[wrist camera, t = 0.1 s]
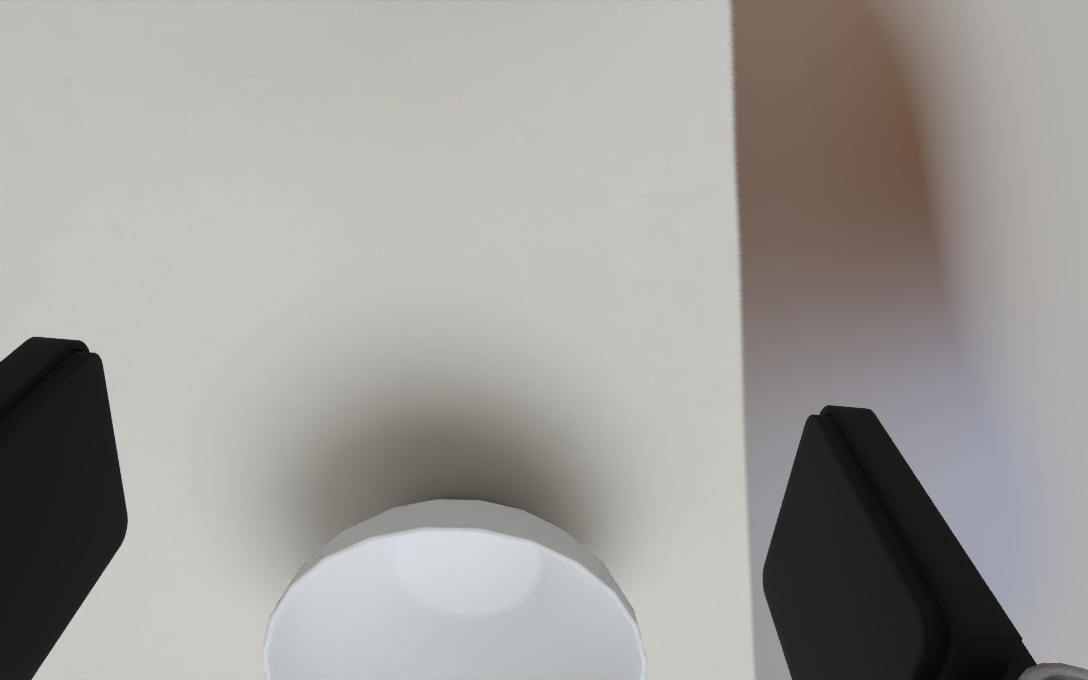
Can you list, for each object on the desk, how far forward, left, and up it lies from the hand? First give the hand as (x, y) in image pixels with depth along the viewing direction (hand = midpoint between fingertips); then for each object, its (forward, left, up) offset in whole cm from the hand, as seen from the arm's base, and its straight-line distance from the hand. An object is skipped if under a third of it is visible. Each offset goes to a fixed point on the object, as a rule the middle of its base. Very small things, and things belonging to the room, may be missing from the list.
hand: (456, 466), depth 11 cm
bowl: (+17, +14, -22) cm, 31 cm away
